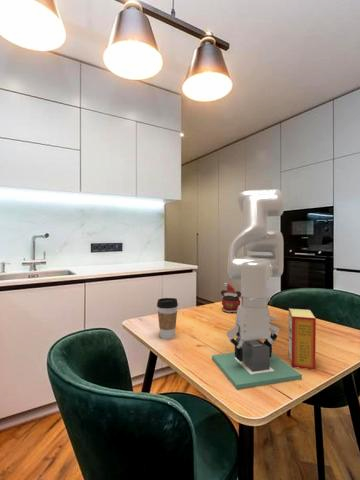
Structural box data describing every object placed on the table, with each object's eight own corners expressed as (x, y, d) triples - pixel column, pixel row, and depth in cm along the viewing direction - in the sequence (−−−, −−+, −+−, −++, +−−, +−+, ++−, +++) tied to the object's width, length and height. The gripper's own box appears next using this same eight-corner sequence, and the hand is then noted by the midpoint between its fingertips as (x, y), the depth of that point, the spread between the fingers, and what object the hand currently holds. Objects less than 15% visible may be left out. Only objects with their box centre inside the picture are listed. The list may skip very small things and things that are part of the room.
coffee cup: (170, 342, 102) (170, 302, 102) (152, 337, 107) (152, 299, 107) (181, 334, 110) (181, 298, 109) (164, 331, 114) (164, 295, 114)
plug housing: (254, 356, 87) (254, 336, 87) (269, 369, 79) (269, 347, 79) (238, 358, 86) (238, 338, 86) (252, 371, 78) (252, 349, 77)
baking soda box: (288, 353, 92) (288, 307, 92) (309, 356, 90) (309, 308, 90) (291, 367, 83) (292, 315, 83) (315, 370, 81) (315, 317, 81)
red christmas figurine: (242, 309, 146) (242, 276, 146) (239, 314, 137) (239, 279, 137) (223, 307, 150) (223, 275, 149) (219, 312, 141) (219, 278, 141)
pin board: (266, 351, 94) (266, 337, 93) (301, 378, 76) (301, 360, 76) (211, 358, 89) (211, 343, 88) (236, 389, 71) (236, 369, 71)
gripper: (271, 297, 88) (271, 349, 88) (222, 300, 83) (222, 355, 84) (286, 303, 81) (285, 359, 81) (232, 307, 76) (232, 367, 77)
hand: (253, 357), depth 82 cm, fingers open, 9 cm apart
